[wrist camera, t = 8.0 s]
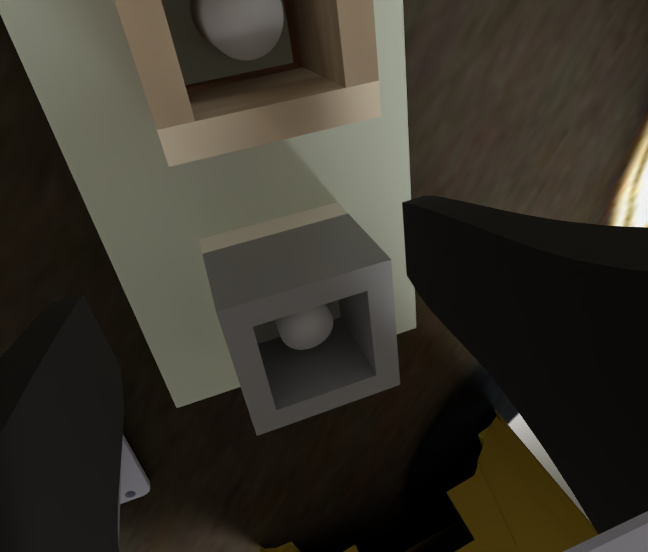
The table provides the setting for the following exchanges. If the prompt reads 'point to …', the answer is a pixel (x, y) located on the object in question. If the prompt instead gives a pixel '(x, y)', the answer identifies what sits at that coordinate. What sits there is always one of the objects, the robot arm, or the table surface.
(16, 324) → the table surface
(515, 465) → the yellow recessed panel
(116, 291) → the table surface
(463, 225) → the robot arm
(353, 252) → the charcoal sleeve
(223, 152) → the birch sleeve
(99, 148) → the pin board
